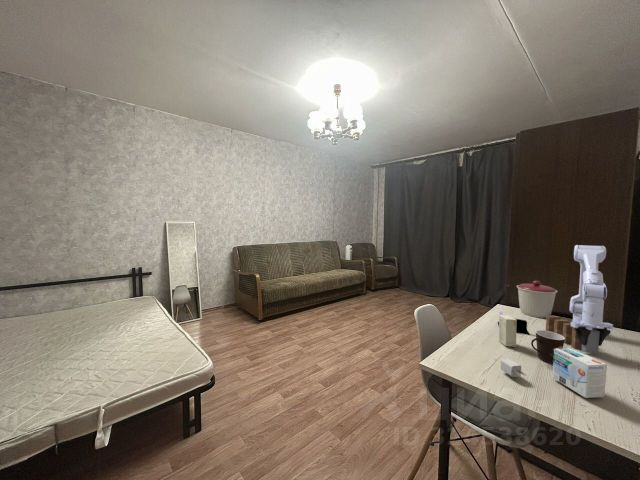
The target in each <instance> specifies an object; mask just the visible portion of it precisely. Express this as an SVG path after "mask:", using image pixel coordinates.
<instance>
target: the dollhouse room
mask: <svg viewBox="0 0 640 480" xmlns="http://www.w3.org/2000/svg"><path fill="white" fill-rule="evenodd" d="M499 315H504V313H503V312H502V311H499ZM515 319H516V320H517V326H516V334H523V335H530V333H529V330H528V321H527V320H525V319H519V318H515ZM497 326H498V327H499V321H497Z"/></svg>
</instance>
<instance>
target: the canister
mask: <svg viewBox="0 0 640 480" xmlns="http://www.w3.org/2000/svg"><path fill="white" fill-rule="evenodd" d="M516 288H517V292H518V293H517V294H518V303H519V310H520V313H522V314H523V315H526V316H528V317H533V318H537V319H546V317H547V316H552V311H553V308H554V304H555V303H554V302H555V298H556V294H557V293H558V289H557V290H556V289H555V288H554V287H551V286H548V285H543V284H541V282H540V280H533V281H532V283H520V284H518V285H516Z"/></svg>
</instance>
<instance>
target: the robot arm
mask: <svg viewBox="0 0 640 480" xmlns="http://www.w3.org/2000/svg"><path fill="white" fill-rule="evenodd" d="M606 256H607V248H606V247H605V246H604V245H585V244H584V245H583V244H581V245H578V244H576V245H574V248H573V259H574V261H575V262H578V263H579V265H580V269H579V271H580V272H579V273H580V274H579V286H578V287H579V288H578V294H576V295H573V296H571V297H570V301H569V312H570V313H572V321H570V324H571V326H572V327H573V328H574V329H575V331H576V333H577V335H578V337H579V341H580V343H581V344H583V345H587V342H588V337H589V334H590V333H591V331H589V330H597V331H600V336H599V347H602V345H603V344H604V343H603V342H604V340H605V339H606V338H607V336H609V335H610V334H611V332H612V331H611V330H613V329H614V324H612V323H611V322H610V323H609V322H603V320H604V308H605V307H604V305H605V300H606V299H607V296H608V289H607V286H606V283H604V275H603V272H601V271H599V264H600V263H603V261H604V260H605V259H606ZM586 328H587V329H588V330H587V329H586Z"/></svg>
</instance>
